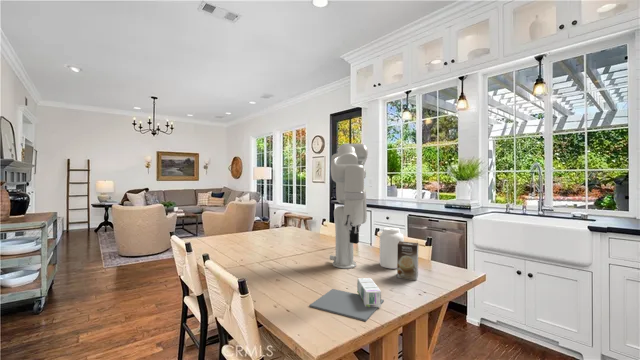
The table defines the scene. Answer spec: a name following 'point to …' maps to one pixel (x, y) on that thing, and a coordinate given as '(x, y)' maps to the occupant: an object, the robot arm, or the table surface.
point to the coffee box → (407, 260)
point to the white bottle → (389, 247)
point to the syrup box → (369, 292)
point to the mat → (344, 304)
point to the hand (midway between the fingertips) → (354, 242)
